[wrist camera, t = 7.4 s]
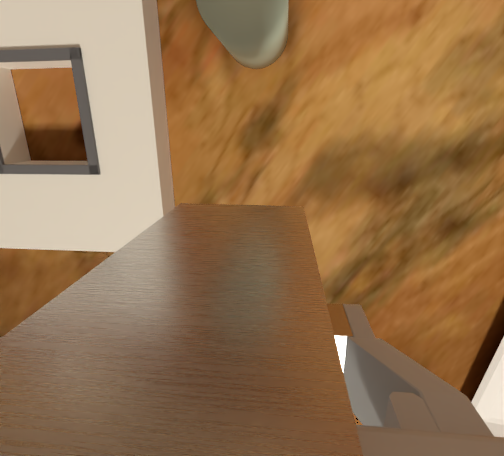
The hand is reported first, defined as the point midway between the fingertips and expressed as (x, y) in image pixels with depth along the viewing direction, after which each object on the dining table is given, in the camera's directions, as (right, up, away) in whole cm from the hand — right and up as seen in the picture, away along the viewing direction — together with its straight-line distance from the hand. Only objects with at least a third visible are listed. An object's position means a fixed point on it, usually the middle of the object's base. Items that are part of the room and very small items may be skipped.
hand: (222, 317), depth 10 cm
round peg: (+1, +18, +16) cm, 24 cm away
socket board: (-17, +13, +19) cm, 29 cm away
